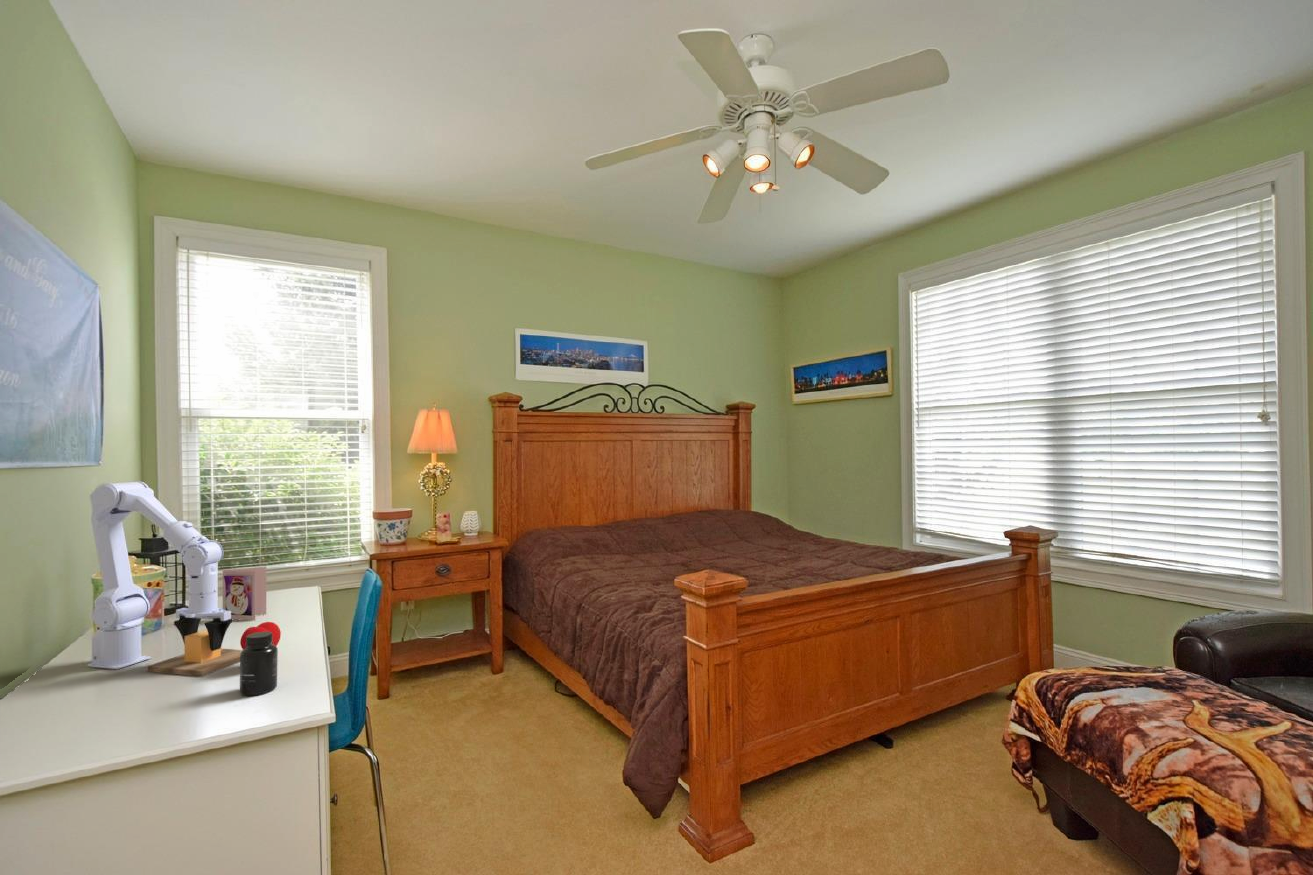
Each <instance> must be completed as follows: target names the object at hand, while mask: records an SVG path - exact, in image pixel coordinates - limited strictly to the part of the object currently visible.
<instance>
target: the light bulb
mask: <svg viewBox="0 0 1313 875" xmlns="http://www.w3.org/2000/svg"><path fill="white" fill-rule="evenodd" d="M257 632H272V634H273V638H272V639H273V642H272V643H271V644H274V645H275V646H276V647H277V646H278V644H279V643H280V640H281V634H282V633H281V628H280V627H279V625H278V624H276V623H275V622H273V621H265V622H261V623H260V624H258V625H257V626H250V627H248V628H246V629H245V630H244V632H243V633H242V636H241V638H240V647H241V650H244V649H245V648H246V647H247V646H246V636H248V635H249V634H252V633H257Z"/></svg>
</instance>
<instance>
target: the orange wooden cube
mask: <svg viewBox="0 0 1313 875" xmlns="http://www.w3.org/2000/svg"><path fill="white" fill-rule="evenodd" d="M221 648H222V647H221ZM221 648H220V649H217V650H214V651H211V649H210V641H209V634H208V631H207V629H204V630H201V631H198V632H197V633H194V634H190V635H187V636H185V645H184V654H185V661H186V662H197V663H202V662H205V661H208V660H211V659H213V658H216V657H219V656H221Z"/></svg>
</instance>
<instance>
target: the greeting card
mask: <svg viewBox="0 0 1313 875" xmlns="http://www.w3.org/2000/svg"><path fill="white" fill-rule="evenodd" d="M222 609H223V610H227V611H231V618H232V619H241V620H240V621H252V620H255V621H256V616H255V615H258V616H262V615H261V614H266V615H267V566H259V567H246V568H236V569H235V568H233V569H223V570H222Z"/></svg>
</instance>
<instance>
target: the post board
mask: <svg viewBox="0 0 1313 875" xmlns="http://www.w3.org/2000/svg"><path fill="white" fill-rule="evenodd" d="M242 651H243V649H235V648H234V649H232V648H222V647H221V656H219V657H216V658H213V659H211V660H208V661H205V662H202V663H197V662H186V661H185V653H182V654H180V655H177V656H174V657H171V658H168V659H165V660H162V661H159V662H156V663H153V664H150V665H147V672H150V673H151V672H152V673H153V672H154V673H163V674H172V675H183V676H192V675H193V676H195V677H204V676H208V675H209V674H212V673H215V672H218V671H220V670H222V669H226V668H228V667H230V666H232V665H236V664H238V663H239V664H240V654H241V652H242ZM193 676H192V677H193Z"/></svg>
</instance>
